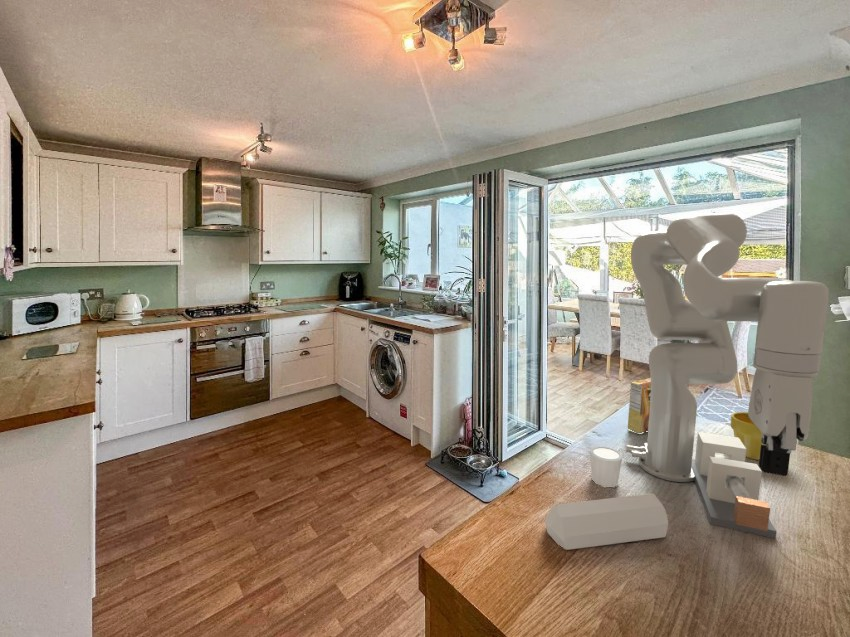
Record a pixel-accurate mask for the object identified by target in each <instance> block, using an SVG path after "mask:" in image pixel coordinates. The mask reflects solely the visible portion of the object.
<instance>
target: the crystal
mask: <svg viewBox="0 0 850 637" xmlns="http://www.w3.org/2000/svg"><path fill="white" fill-rule="evenodd" d="M544 520H545V529H546V532H547V534H548V535H549V536H550V537H551V538H552V540H554V542H555V543H556V545H558V546H559V545H560V546H561V547H563V548H562V549H563V550H567V551H569V550H577V549H583V548H591V547H599V546H605V545H606V546H607V545H615V544H621V543H623V544H624V543H628V542H630V543H631V542H638V541H644V540H645V541H646V540H651V539H652V540H653V539H661V538H666V535H667V532H668V531H667V530H668V527H669V521H668V513H667V511H666V509H665V507H664V505H663V503H662V502H661V501H660V500H659V498H658V497H657V496H656V495H655V494H654V493H647V494H645V493H644V494H638V495H637V494H636V495H630V496H629V495H628V496H618V497H612V498H611V497H610V498H602V499H593V500H584V501H583V500H582V501H576V502H575V501H574V502H566V503H558V504H554V505H551V508H550V510H549V511H548V513H547V515H546V517H545V519H544ZM560 546H559V547H560ZM561 547H560V548H561Z"/></svg>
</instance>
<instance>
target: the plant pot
mask: <svg viewBox="0 0 850 637" xmlns="http://www.w3.org/2000/svg"><path fill="white" fill-rule="evenodd" d="M730 416H731V418H730V428H731V429H732V430H733V437H737V438H739V439H740V440H741V442H742V443H743V445H744V446H745V448H746V457H745V458H747V459H751V460H755V461H759V458H760V449H761V445H765V444H762V442H761V434H762V432H761V431H760V430H759V428H758V427H757V426H756V425H755V424H754V423H753V422H752V420H751V419H750V418H749V416H748V411H745V412H744V411H743V412H742V411H741V412H740V411H738V412H733V413H731V415H730Z"/></svg>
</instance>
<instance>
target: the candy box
mask: <svg viewBox="0 0 850 637" xmlns="http://www.w3.org/2000/svg"><path fill="white" fill-rule="evenodd" d="M629 392H630V393H629V404H628V406H629V407H628V415H627V416H628V418H627V428H628V429H630V430H632V431H634V432H636V433H642V432H646V431H648V427H649V413H650V398H651V377H649V378H645V379H640V380H639V379H638V380H635V381H632V382H630V391H629Z"/></svg>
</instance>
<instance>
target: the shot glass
mask: <svg viewBox="0 0 850 637" xmlns="http://www.w3.org/2000/svg"><path fill="white" fill-rule="evenodd" d="M589 453H590V454H589V456H590V457H589V459H590V472H591V473H590V476H591V477H592V478H591V481H592V480H593V481H594V482H595V483H597V484H599V485H602V486H605V487H604V488H606V487H613V488H615V486H616V487H617V486H618V483H619V480H620V479H619V478H620V472H621V469H622V468H621V467H622V461H623V454H622V453H621V452H620V451H618V450H617V449H614V448H611V447H607V446H595V447H592V448H591V449H590V450H589ZM593 481H592V482H593ZM594 482H593V483H594ZM595 483H594V484H595ZM597 484H596V485H597ZM599 485H598V486H599ZM602 486H601V487H602Z"/></svg>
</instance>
